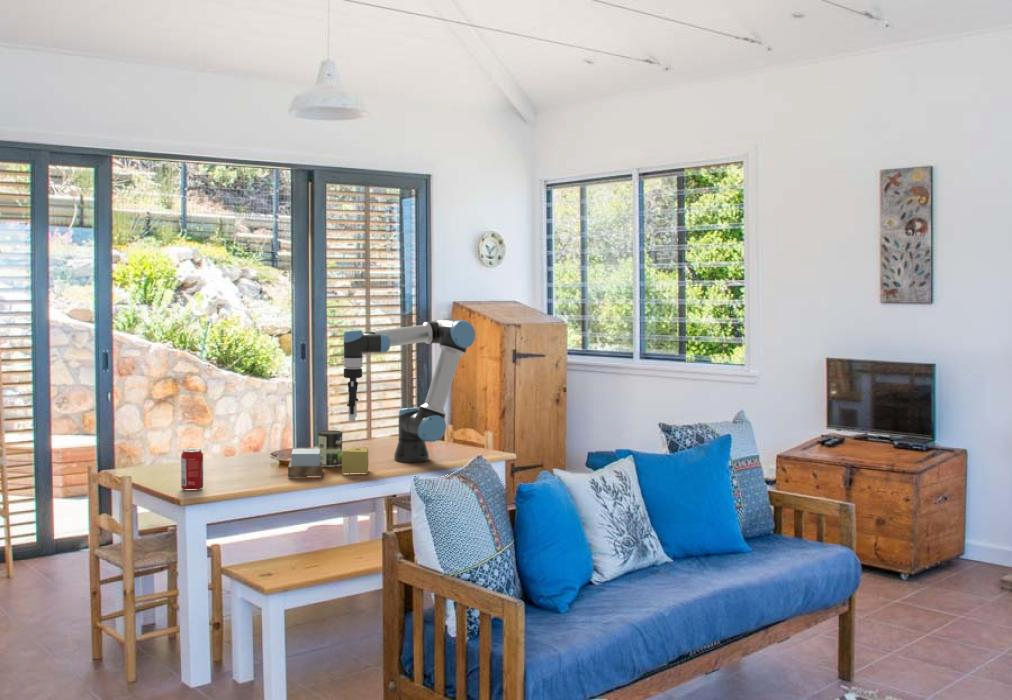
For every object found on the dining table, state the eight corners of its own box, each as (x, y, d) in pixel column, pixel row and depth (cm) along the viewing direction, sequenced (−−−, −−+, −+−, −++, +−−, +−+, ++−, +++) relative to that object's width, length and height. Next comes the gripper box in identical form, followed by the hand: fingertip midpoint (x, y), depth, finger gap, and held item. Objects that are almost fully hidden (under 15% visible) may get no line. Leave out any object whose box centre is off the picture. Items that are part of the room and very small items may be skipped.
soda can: (177, 491, 376) (177, 451, 375) (187, 486, 384) (187, 447, 383) (197, 492, 375) (197, 452, 374) (206, 487, 383) (206, 448, 382)
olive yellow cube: (343, 470, 421) (343, 446, 420) (369, 470, 422) (369, 446, 421) (341, 475, 411) (341, 451, 410) (368, 475, 412) (368, 451, 411)
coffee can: (345, 463, 436) (346, 430, 435) (337, 467, 426) (337, 434, 424) (323, 461, 438) (323, 429, 437) (313, 466, 428) (314, 433, 427)
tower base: (322, 472, 418) (322, 460, 418) (321, 479, 405) (321, 466, 405) (290, 472, 416) (290, 460, 416) (288, 479, 403) (288, 466, 403)
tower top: (320, 460, 417) (320, 448, 416) (319, 466, 406) (319, 453, 406) (292, 460, 415) (292, 448, 415) (291, 466, 404) (291, 453, 404)
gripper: (345, 364, 425) (344, 415, 427) (342, 371, 401) (341, 424, 403) (363, 365, 426) (362, 415, 428) (361, 371, 402) (360, 424, 403)
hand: (352, 419), depth 415 cm, fingers open, 13 cm apart
